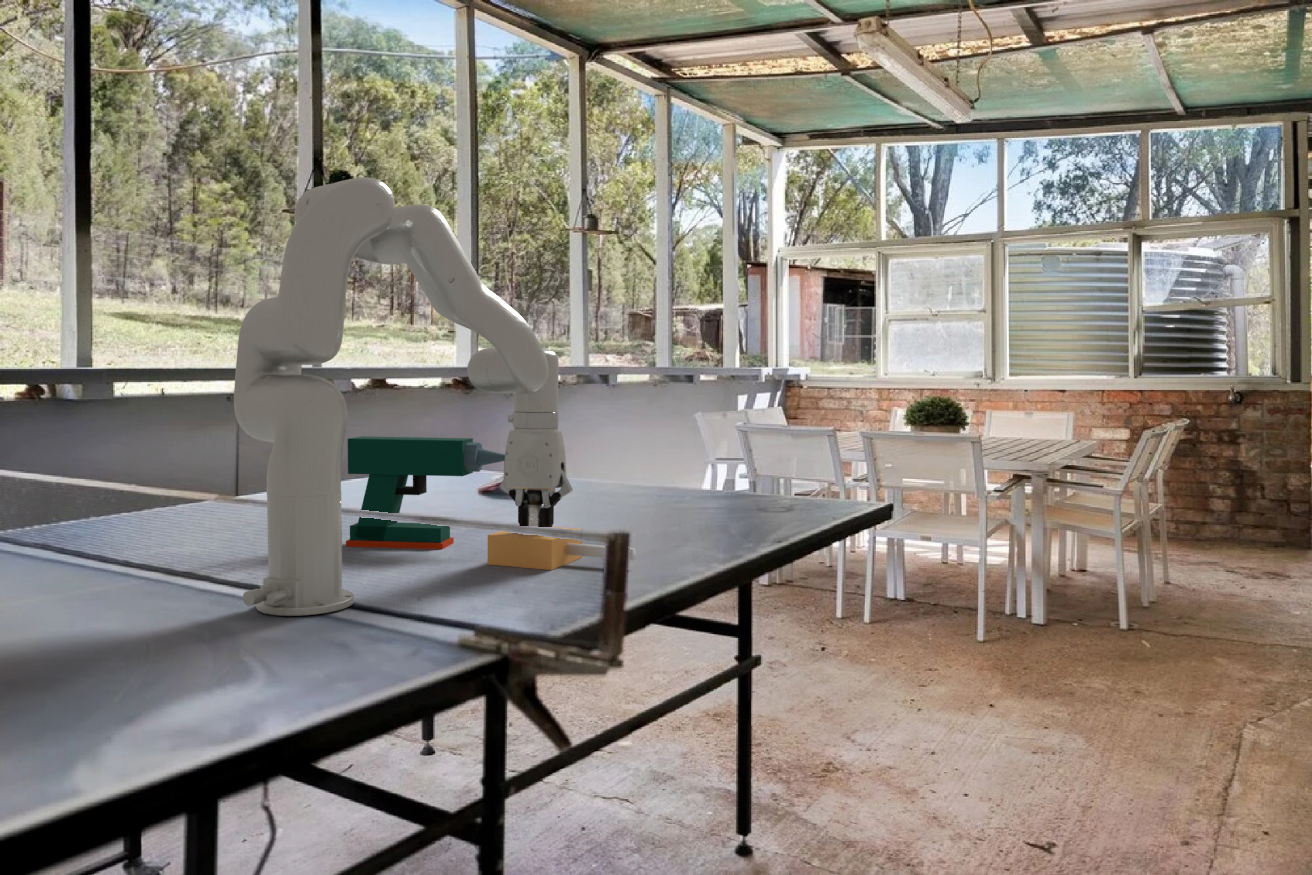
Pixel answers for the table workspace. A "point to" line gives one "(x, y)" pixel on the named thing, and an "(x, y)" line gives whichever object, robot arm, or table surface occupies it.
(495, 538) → the chuck block
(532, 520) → the silver capped bar
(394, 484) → the power tool
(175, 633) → the table surface
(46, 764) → the table surface
